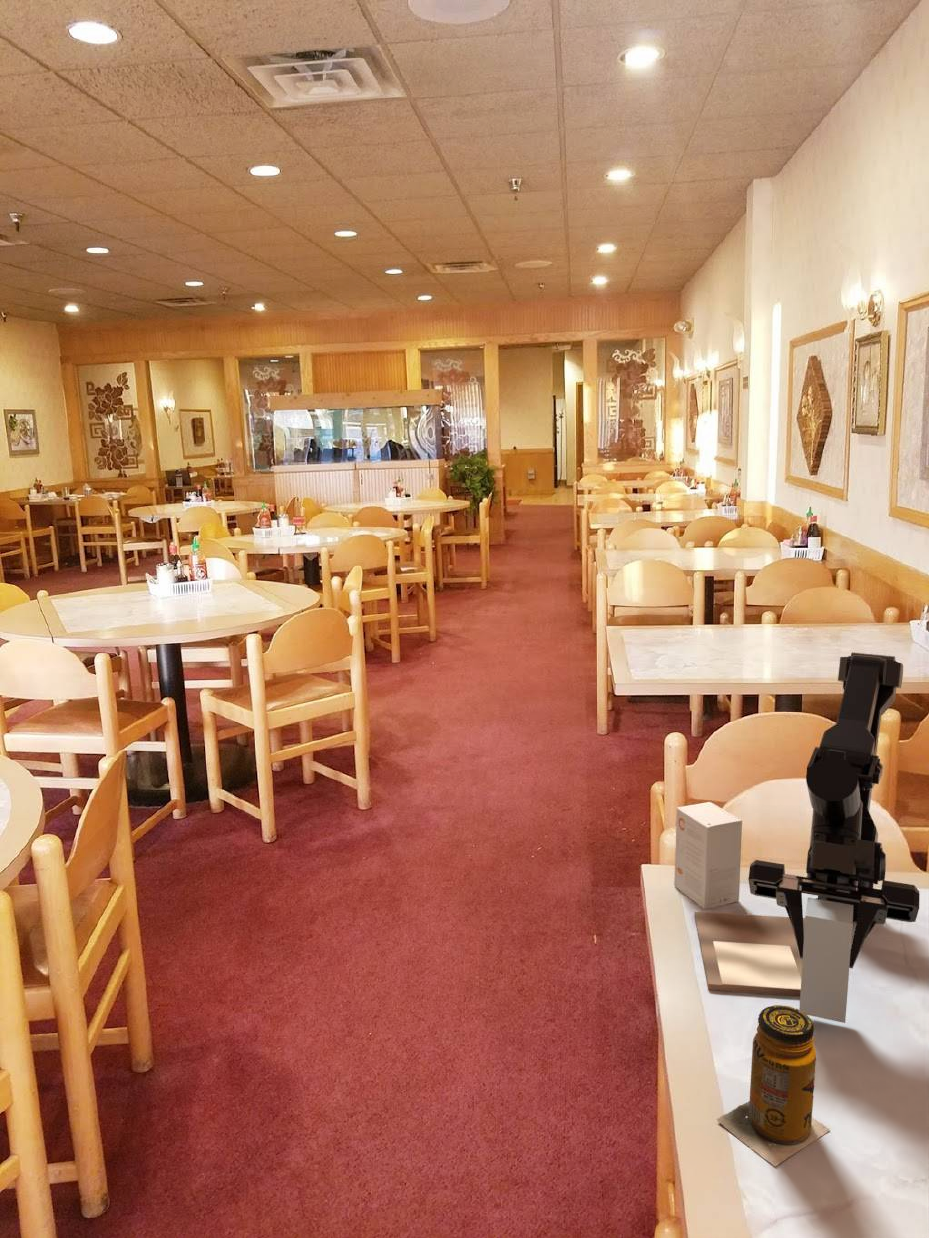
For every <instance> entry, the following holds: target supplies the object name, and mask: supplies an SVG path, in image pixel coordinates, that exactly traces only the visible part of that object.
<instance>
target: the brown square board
mask: <svg viewBox="0 0 929 1238" xmlns="http://www.w3.org/2000/svg"><path fill="white" fill-rule="evenodd" d="M694 922H695V928H696V931H697V937H698V943H699V949H700V955H701V958H702V964H703V965H702V966H703V969H704V974H705V979H706V985H707V990H708V991H709V990H710V991H720V992H721V991H722V992H735V993H750V994H751V993H752V994H767V995H778V996H779V995H783V996H795V997H796V996H797V997H800V993H801V977H802V961H803V959H800V957H799V953H798V948H797V944H796V939H795V935H794V931H793V927H792V924H791V921H790V919H789V916H776V915H775V916H774V915H762V914H761V915H758V914H757V915H756V914H742V913H741V914H740V913H727V912H726V913H724V912H723V913H721V912H706V911H705V912H704V911H703V912H702V911H694ZM803 929H805V917H803Z"/></svg>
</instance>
